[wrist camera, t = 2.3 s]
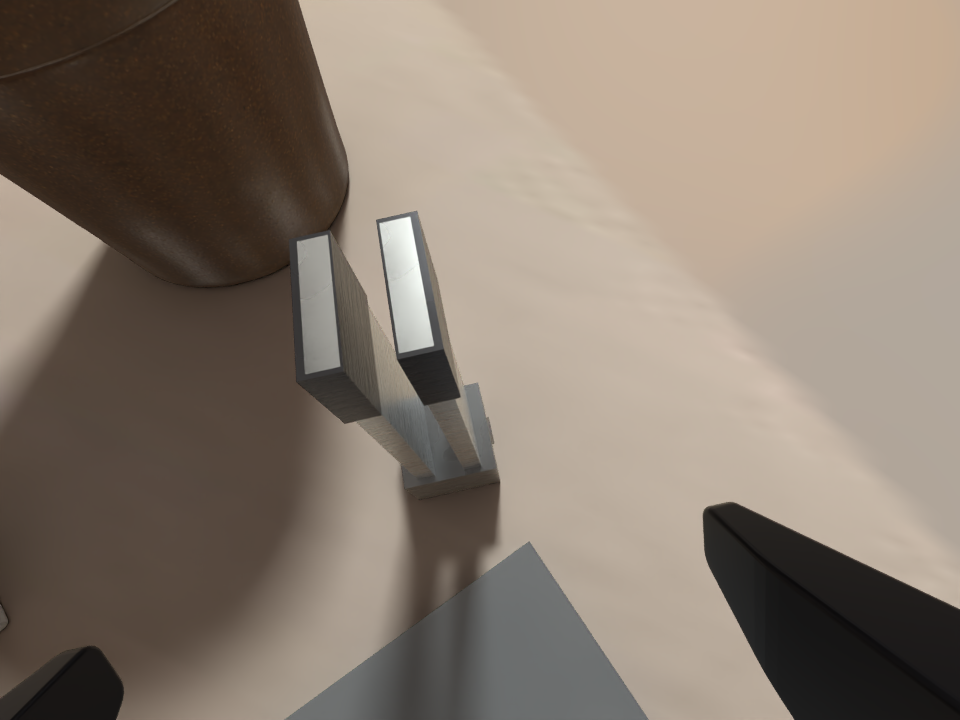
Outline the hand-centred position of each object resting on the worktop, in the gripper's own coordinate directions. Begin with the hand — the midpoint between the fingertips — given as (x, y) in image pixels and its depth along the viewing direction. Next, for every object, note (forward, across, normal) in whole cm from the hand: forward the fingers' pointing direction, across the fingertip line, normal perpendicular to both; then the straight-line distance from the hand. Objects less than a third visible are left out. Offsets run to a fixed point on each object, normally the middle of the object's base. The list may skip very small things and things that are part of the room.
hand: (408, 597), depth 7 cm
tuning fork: (+12, 0, +5) cm, 12 cm away
